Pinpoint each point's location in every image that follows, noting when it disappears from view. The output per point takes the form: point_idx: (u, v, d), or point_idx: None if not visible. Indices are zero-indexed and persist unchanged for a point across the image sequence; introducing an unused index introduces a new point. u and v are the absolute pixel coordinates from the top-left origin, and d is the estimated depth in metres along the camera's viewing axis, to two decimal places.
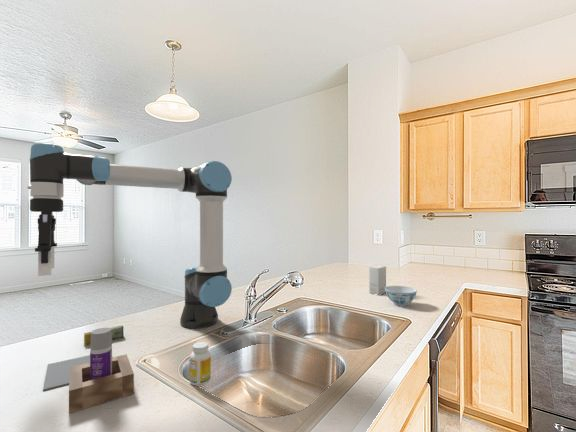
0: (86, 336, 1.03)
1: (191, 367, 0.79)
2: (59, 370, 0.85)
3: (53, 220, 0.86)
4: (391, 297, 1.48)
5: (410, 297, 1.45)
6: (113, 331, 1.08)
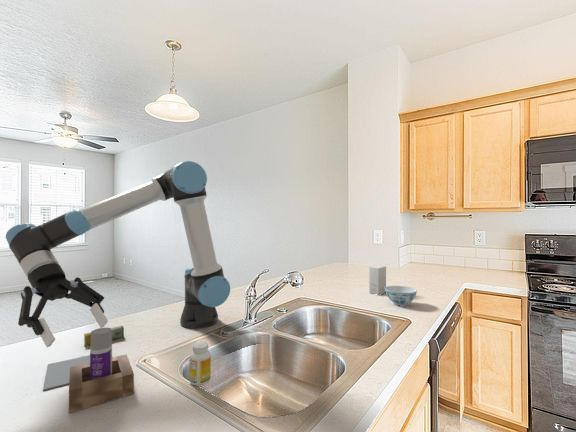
0: (86, 337, 1.03)
1: (191, 367, 0.79)
2: (59, 370, 0.85)
3: (48, 286, 0.79)
4: (391, 297, 1.48)
5: (410, 297, 1.45)
6: (113, 331, 1.08)
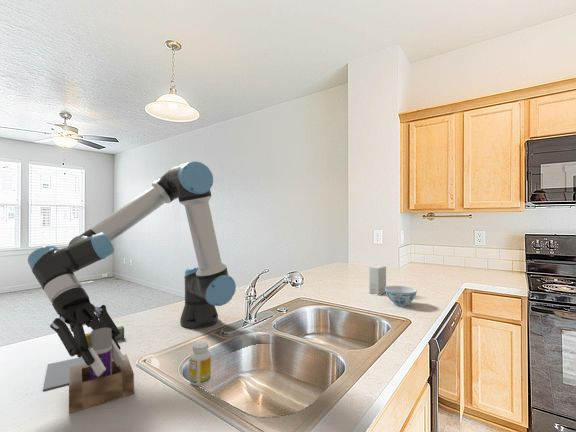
0: (86, 337, 1.02)
1: (191, 367, 0.79)
2: (59, 370, 0.85)
3: (75, 314, 0.77)
4: (391, 297, 1.48)
5: (410, 297, 1.45)
6: None
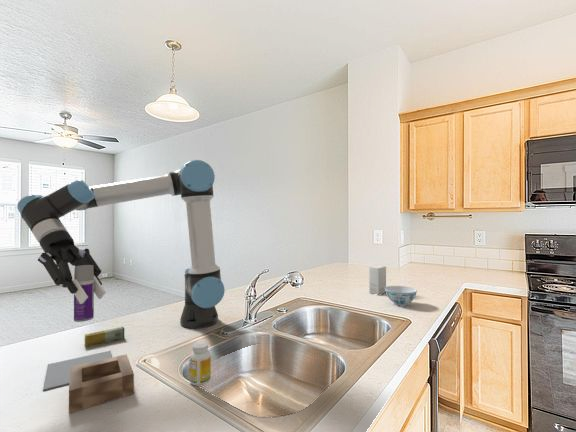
0: (86, 337, 1.02)
1: (191, 367, 0.79)
2: (59, 370, 0.85)
3: (60, 251, 0.86)
4: (391, 297, 1.48)
5: (410, 297, 1.45)
6: (114, 332, 1.07)
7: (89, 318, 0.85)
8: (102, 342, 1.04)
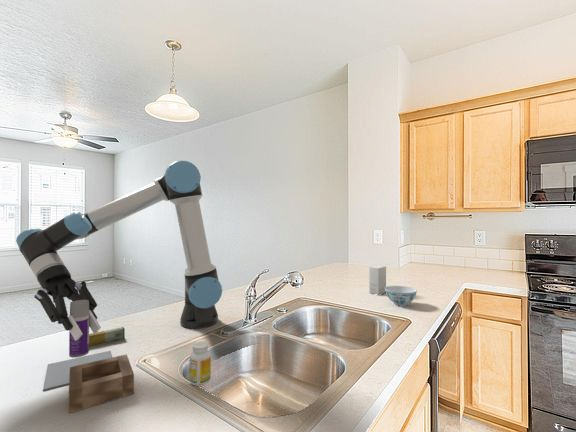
0: None
1: (191, 367, 0.79)
2: (59, 370, 0.85)
3: (57, 287, 0.88)
4: (391, 297, 1.48)
5: (410, 297, 1.45)
6: (114, 333, 1.06)
7: (84, 353, 0.86)
8: (102, 342, 1.04)
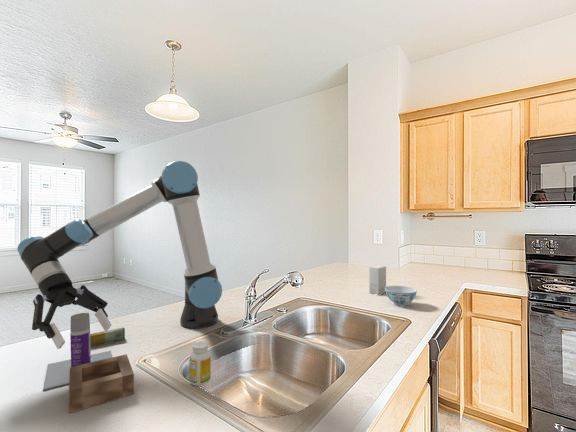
0: None
1: (191, 367, 0.79)
2: (59, 370, 0.85)
3: (57, 294, 0.88)
4: (391, 297, 1.48)
5: (410, 297, 1.45)
6: (114, 333, 1.06)
7: None
8: (102, 343, 1.04)
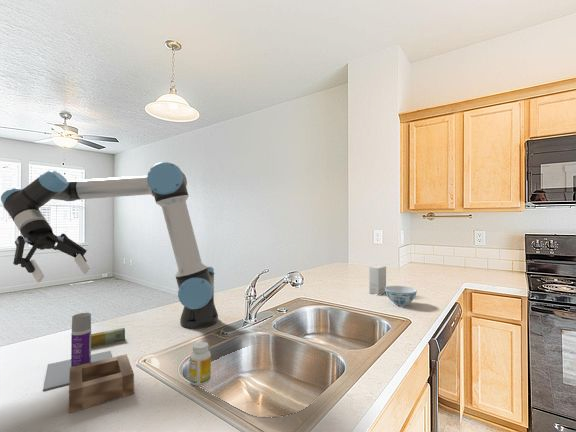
0: None
1: (191, 367, 0.79)
2: (59, 370, 0.85)
3: (38, 237, 0.95)
4: (391, 297, 1.48)
5: (410, 297, 1.45)
6: (114, 334, 1.06)
7: None
8: (102, 343, 1.04)
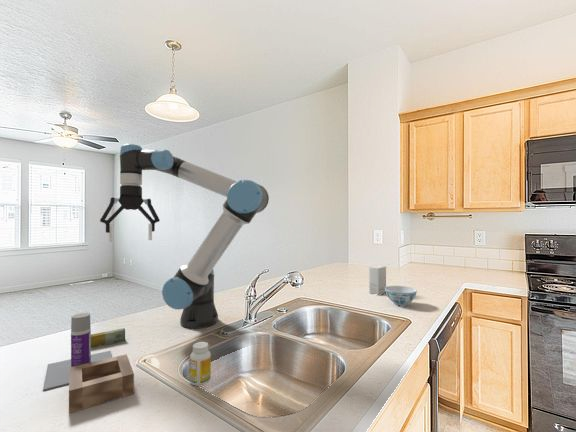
0: None
1: (191, 367, 0.79)
2: (59, 370, 0.85)
3: (125, 202, 1.14)
4: (391, 297, 1.48)
5: (410, 297, 1.45)
6: (114, 334, 1.05)
7: None
8: (102, 343, 1.03)
